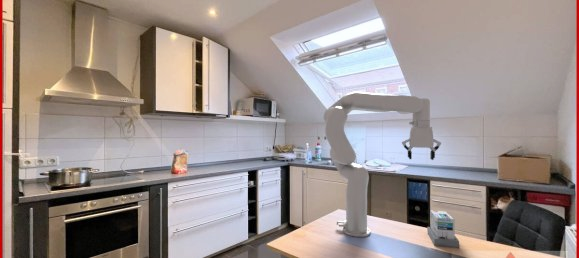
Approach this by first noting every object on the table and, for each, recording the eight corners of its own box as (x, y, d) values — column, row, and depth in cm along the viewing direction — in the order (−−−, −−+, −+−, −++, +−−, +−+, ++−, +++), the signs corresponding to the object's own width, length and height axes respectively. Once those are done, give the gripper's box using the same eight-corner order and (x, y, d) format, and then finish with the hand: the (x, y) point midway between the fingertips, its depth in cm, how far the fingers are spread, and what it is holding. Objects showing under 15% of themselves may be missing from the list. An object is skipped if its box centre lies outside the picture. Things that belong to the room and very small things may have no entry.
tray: (434, 245, 109) (434, 238, 109) (427, 233, 122) (427, 226, 122) (459, 248, 107) (459, 241, 107) (449, 235, 119) (449, 228, 119)
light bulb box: (455, 245, 108) (455, 219, 108) (437, 243, 110) (437, 217, 110) (446, 234, 119) (446, 210, 119) (430, 233, 120) (430, 209, 120)
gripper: (402, 124, 127) (402, 159, 127) (443, 124, 122) (443, 160, 122) (400, 124, 134) (400, 157, 135) (438, 124, 129) (438, 158, 130)
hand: (421, 159), depth 129 cm, fingers open, 9 cm apart
